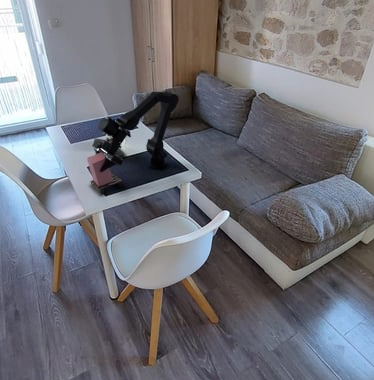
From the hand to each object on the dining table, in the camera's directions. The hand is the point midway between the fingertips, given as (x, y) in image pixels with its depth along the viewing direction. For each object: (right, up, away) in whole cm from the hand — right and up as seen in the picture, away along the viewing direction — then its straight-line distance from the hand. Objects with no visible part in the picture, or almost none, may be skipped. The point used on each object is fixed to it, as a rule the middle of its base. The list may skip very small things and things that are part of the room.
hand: (97, 168), depth 140 cm
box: (+1, -5, +5) cm, 8 cm away
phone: (-1, +11, +37) cm, 38 cm away
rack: (+2, -8, +8) cm, 11 cm away
